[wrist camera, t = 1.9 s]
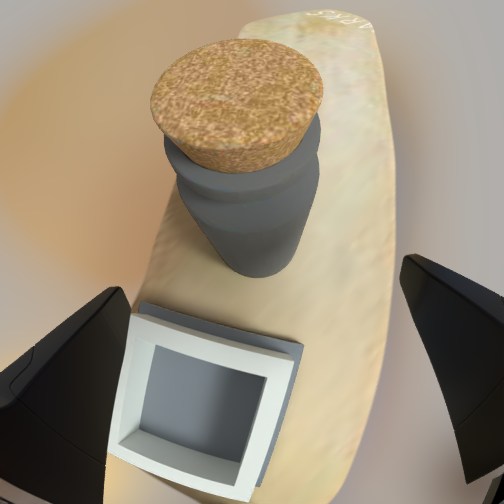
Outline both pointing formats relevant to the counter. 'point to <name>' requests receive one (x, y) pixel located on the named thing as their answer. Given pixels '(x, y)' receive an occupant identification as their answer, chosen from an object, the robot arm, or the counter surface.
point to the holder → (201, 401)
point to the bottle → (244, 146)
